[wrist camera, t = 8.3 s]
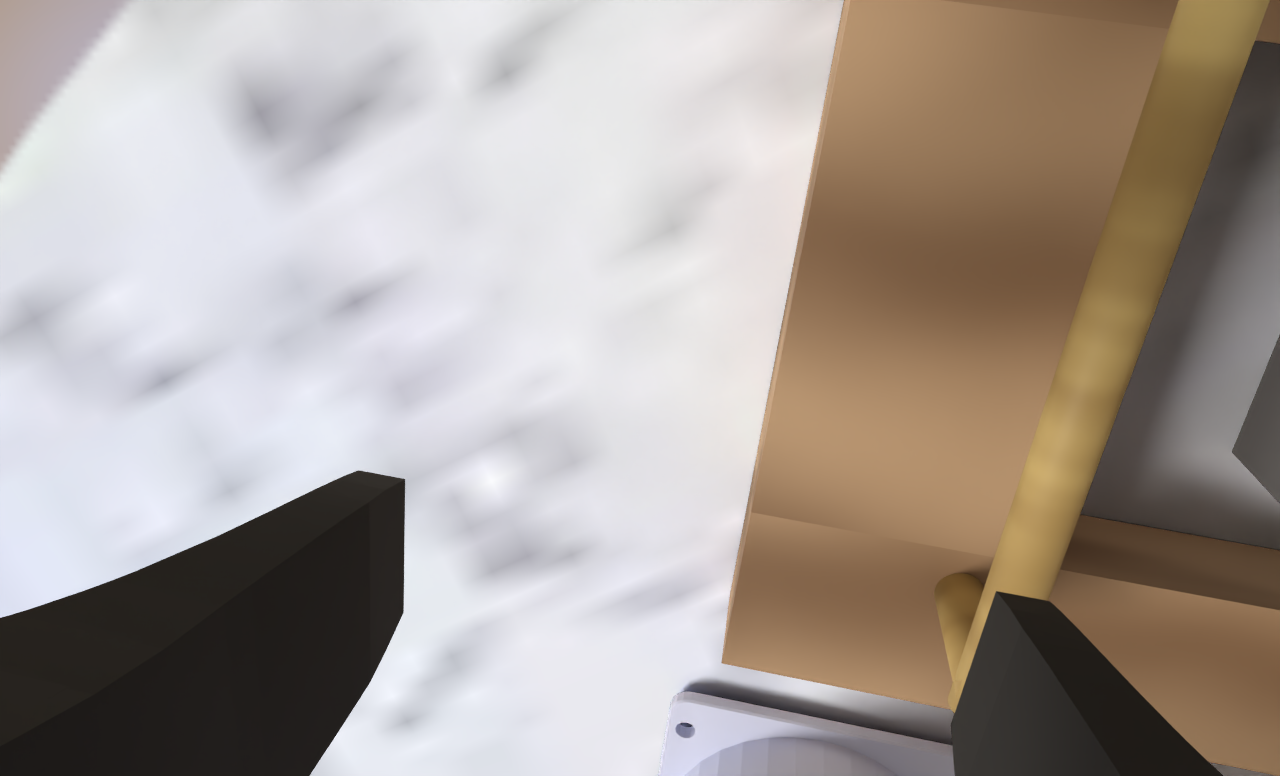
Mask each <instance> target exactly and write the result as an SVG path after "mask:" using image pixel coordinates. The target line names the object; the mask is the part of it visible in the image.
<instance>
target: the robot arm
mask: <svg viewBox="0 0 1280 776" xmlns="http://www.w3.org/2000/svg"><path fill="white" fill-rule="evenodd" d="M404 518H405V479H401V478H396V477H391V476H385V475H380V474H375V473H369V472H364V471H356V472H353V473H351V474H348V475H346V476H343V477H341V478H339V479H337V480H334V481H332V482H330V483H328V484H326V485H324V486H321V487H319V488H317V489H315V490H313V491H311V492H309V493H307V494H305V495H303V496H301V497H299V498H296V499H294V500H292V501H290V502H288V503H286V504H284V505H282V506H280V507H278V508H276V509H274V510H272V511H270V512H268V513H265V514H263V515H261V516H259V517H257V518H255V519H253V520H251V521H249V522H247V523H244V524H242V525H240V526H238V527H236V528H234V529H232V530H230V531H228V532H226V533H223V534H221V535H219V536H217V537H215V538H212V539H210V540H208V541H205V542H203V543H201V544H198V545H196V546H194V547H191V548H189V549H187V550H184V551H182V552H180V553H177V554H175V555H173V556H170V557H168V558H166V559H163V560H161V561H159V562H156V563H154V564H152V565H149V566H147V567H145V568H142V569H140V570H138V571H135V572H133V573H130V574H128V575H125V576H123V577H120V578H118V579H115V580H112V581H110V582H107V583H104V584H102V585H99V586H96V587H93V588H91V589H88V590H85V591H82V592H79V593H76V594H73V595H71V596H68V597H65V598H62V599H59V600H56V601H53V602H50V603H47V604H44V605H41V606H38V607H35V608H32V609H29V610H26V611H23V612H19V613H16V614H13V615H9V616H6V617H2V618H0V776H309V775H310V774H311V772H312V771H313V769H314V768H315V766H316V765H317V763H318V762H319V760H320V759H321V757H322V756H323V754H324V753H325V751H326V750H327V748H328V747H329V745H330V744H331V742H332V740H333V739H334V737H335V736H336V734H337V733H338V731H339V730H340V728H341V727H342V725H343V724H344V722H345V720H346V719H347V717H348V716H349V714H350V713H351V711H352V710H353V708H354V707H355V705H356V703H357V702H358V700H359V699H360V697H361V696H362V694H363V692H364V691H365V689H366V688H367V686H368V685H369V683H370V681H371V679H372V677H373V675H374V673H375V671H376V669H377V667H378V665H379V663H380V661H381V659H382V657H383V655H384V653H385V651H386V649H387V647H388V645H389V643H390V640H391V638H392V636H393V634H394V632H395V630H396V627H397V625H398V623H399V621H400V619H401V617H402V614H403V606H404ZM680 723H689V724H691V725H692V727H685V726H682V725H681V724H680ZM951 732H952V745H947V744H943V743H938V742H933V741H928V740H923V739H918V738H914V737H909V736H904V735H899V734H894V733H889V732H885V731H880V730H875V729H870V728H865V727H860V726H855V725H851V724H846V723H841V722H836V721H831V720H826V719H822V718H817V717H812V716H807V715H802V714H797V713H792V712H788V711H783V710H778V709H773V708H768V707H763V706H759V705H754V704H749V703H744V702H739V701H734V700H730V699H725V698H720V697H715V696H710V695H705V694H700V693H696V692H686V691H684V692H681V693H678V694H677V695H675V696H674V697H673V699H672V701H671V704H670V710H669V716H668V721H667V727H666V733H665V739H664V745H663V751H662V757H661V763H660V769H659V775H658V776H1223V775H1222V774H1221V773H1220V772H1219V771H1218V770H1216V769H1215V768H1214V767H1213V766H1212V765H1211V764H1210V763H1209V762H1208V761H1207V760H1206V759H1205V758H1204V757H1203V756H1202V755H1201V754H1200V753H1199V752H1198V751H1197V750H1196V749H1195V748H1194V747H1193V746H1192V745H1191V744H1190V743H1188V742H1187V741H1186V740H1185V739H1184V738H1183V737H1182V736H1181V735H1180V734H1179V733H1178V732H1177V731H1176V730H1175V729H1174V728H1173V727H1172V726H1171V725H1170V724H1169V723H1168V722H1167V721H1166V720H1165V719H1164V718H1163V717H1162V716H1161V714H1160V713H1159V712H1158V711H1157V710H1156V709H1155V708H1154V707H1153V706H1152V705H1151V704H1150V703H1149V702H1148V701H1147V700H1146V699H1145V698H1144V697H1143V696H1142V695H1141V694H1140V693H1139V692H1138V691H1137V690H1136V689H1135V688H1134V687H1133V686H1132V685H1131V684H1130V683H1129V681H1128V680H1127V679H1126V678H1125V677H1124V676H1123V675H1122V674H1121V673H1120V672H1119V671H1118V670H1117V669H1116V668H1115V667H1114V666H1113V665H1112V664H1111V663H1110V662H1109V660H1108V659H1107V658H1106V657H1105V656H1104V655H1103V654H1102V653H1101V652H1100V651H1099V650H1098V649H1097V648H1096V647H1095V646H1094V645H1093V644H1092V643H1091V642H1090V640H1089V639H1088V638H1087V637H1086V636H1085V635H1084V634H1083V633H1082V632H1081V631H1080V630H1079V629H1078V628H1077V627H1076V626H1075V625H1074V624H1073V623H1072V622H1071V621H1070V620H1069V619H1068V618H1067V617H1066V616H1065V615H1064V614H1063V613H1062V612H1061V611H1060V610H1059V609H1058V608H1057V607H1056V606H1055V605H1054V604H1052V603H1051V602H1050V601H1046V600H1041V599H1036V598H1030V597H1025V596H1020V595H1015V594H1009V593H1004V592H999V591H996V592H995V595H994V598H993V601H992V604H991V607H990V610H989V613H988V616H987V619H986V622H985V625H984V628H983V631H982V634H981V637H980V640H979V643H978V646H977V649H976V652H975V655H974V658H973V660H972V663H971V666H970V669H969V672H968V675H967V678H966V681H965V684H964V687H963V690H962V693H961V696H960V699H959V702H958V705H957V708H956V711H955V714H954V717H953V720H952V723H951Z"/></svg>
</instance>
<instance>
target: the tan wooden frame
mask: <svg viewBox="0 0 1280 776" xmlns="http://www.w3.org/2000/svg"><path fill="white" fill-rule="evenodd" d="M1255 41H1260V42H1268V43H1276V44H1280V0H844V3H843V8H842V13H841V18H840V24H839V29H838V34H837V39H836V45H835V50H834V55H833V60H832V65H831V71H830V76H829V81H828V86H827V92H826V97H825V102H824V107H823V112H822V118H821V123H820V128H819V133H818V138H817V144H816V149H815V154H814V159H813V165H812V170H811V175H810V180H809V185H808V191H807V196H806V201H805V206H804V211H803V217H802V222H801V227H800V232H799V238H798V243H797V248H796V253H795V258H794V264H793V269H792V274H791V279H790V285H789V290H788V295H787V300H786V305H785V311H784V316H783V321H782V326H781V331H780V337H779V342H778V347H777V352H776V358H775V363H774V368H773V373H772V378H771V384H770V389H769V394H768V399H767V404H766V410H765V415H764V420H763V425H762V431H761V436H760V441H759V446H758V451H757V457H756V462H755V467H754V472H753V477H752V483H751V488H750V493H749V498H748V504H747V509H746V514H745V519H744V524H743V530H742V535H741V540H740V545H739V551H738V556H737V561H736V566H735V571H734V577H733V582H732V587H731V592H730V598H729V606H728V614H727V623H726V631H725V639H724V648H723V656H722V663H723V664H728V665H733V666H738V667H743V668H748V669H753V670H758V671H763V672H768V673H773V674H778V675H783V676H787V677H792V678H797V679H802V680H807V681H812V682H817V683H822V684H827V685H832V686H837V687H842V688H847V689H852V690H857V691H861V692H866V693H871V694H876V695H881V696H886V697H891V698H896V699H901V700H906V701H911V702H916V703H921V704H926V705H931V706H936V707H940V708H945V709H950V710H952V711H953V713H954V714H955V711H956V708H957V705H958V702H959V699H960V696H961V693H962V690H963V687H964V684H965V681H966V678H967V675H968V672H969V669H970V666H971V663H972V660H973V658H974V655H975V652H976V649H977V646H978V643H979V640H980V637H981V634H982V631H983V628H984V625H985V622H986V619H987V616H988V613H989V610H990V607H991V604H992V601H993V598H994V595H995V592H996V591H999V592H1004V593H1009V594H1015V595H1020V596H1025V597H1030V598H1036V599H1041V600H1046V601H1050V602H1051V603H1052V604H1054V605H1055V606H1056V607H1057V608H1058V609H1059V610H1060V611H1061V612H1062V613H1063V614H1064V615H1065V616H1066V617H1067V618H1068V619H1069V620H1070V621H1071V622H1072V623H1073V624H1074V625H1075V626H1076V627H1077V628H1078V629H1079V630H1080V631H1081V632H1082V633H1083V634H1084V635H1085V636H1086V637H1087V638H1088V639H1089V640H1090V642H1091V643H1092V644H1093V645H1094V646H1095V647H1096V648H1097V649H1098V650H1099V651H1100V652H1101V653H1102V654H1103V655H1104V656H1105V657H1106V658H1107V659H1108V660H1109V662H1110V663H1111V664H1112V665H1113V666H1114V667H1115V668H1116V669H1117V670H1118V671H1119V672H1120V673H1121V674H1122V675H1123V676H1124V677H1125V678H1126V679H1127V680H1128V681H1129V683H1130V684H1131V685H1132V686H1133V687H1134V688H1135V689H1136V690H1137V691H1138V692H1139V693H1140V694H1141V695H1142V696H1143V697H1144V698H1145V699H1146V700H1147V701H1148V702H1149V703H1150V704H1151V705H1152V706H1153V707H1154V708H1155V709H1156V710H1157V711H1158V712H1159V713H1160V714H1161V716H1162V717H1163V718H1164V719H1165V720H1166V721H1167V722H1168V723H1169V724H1170V725H1171V726H1172V727H1173V728H1174V729H1175V730H1176V731H1177V732H1178V733H1179V734H1180V735H1181V736H1182V737H1183V738H1184V739H1185V740H1186V741H1187V742H1188V743H1190V744H1191V745H1192V746H1193V747H1194V748H1195V749H1196V750H1197V751H1198V752H1199V753H1200V754H1201V755H1202V756H1203V757H1204V758H1205V759H1206V760H1207V761H1208V762H1212V763H1217V764H1222V765H1227V766H1232V767H1237V768H1241V769H1246V770H1251V771H1256V772H1261V773H1266V774H1271V775H1276V776H1280V550H1274V549H1269V548H1263V547H1258V546H1252V545H1246V544H1241V543H1235V542H1230V541H1224V540H1218V539H1213V538H1207V537H1202V536H1196V535H1191V534H1185V533H1179V532H1174V531H1168V530H1163V529H1157V528H1152V527H1146V526H1140V525H1135V524H1129V523H1124V522H1118V521H1112V520H1107V519H1101V518H1096V517H1090V516H1085V515H1080V513H1081V511H1082V508H1083V505H1084V503H1085V500H1086V497H1087V494H1088V492H1089V489H1090V486H1091V484H1092V481H1093V478H1094V476H1095V473H1096V470H1097V467H1098V465H1099V462H1100V459H1101V457H1102V454H1103V451H1104V448H1105V446H1106V443H1107V440H1108V438H1109V435H1110V432H1111V429H1112V427H1113V424H1114V421H1115V419H1116V416H1117V413H1118V410H1119V408H1120V405H1121V402H1122V400H1123V397H1124V394H1125V391H1126V389H1127V386H1128V383H1129V381H1130V378H1131V375H1132V373H1133V370H1134V367H1135V364H1136V362H1137V359H1138V356H1139V354H1140V351H1141V348H1142V345H1143V343H1144V340H1145V337H1146V335H1147V332H1148V329H1149V326H1150V324H1151V321H1152V318H1153V316H1154V313H1155V310H1156V307H1157V305H1158V302H1159V299H1160V297H1161V294H1162V291H1163V289H1164V286H1165V283H1166V280H1167V278H1168V275H1169V272H1170V270H1171V267H1172V264H1173V261H1174V259H1175V256H1176V253H1177V251H1178V248H1179V245H1180V242H1181V240H1182V237H1183V234H1184V232H1185V229H1186V226H1187V223H1188V221H1189V218H1190V215H1191V213H1192V210H1193V207H1194V205H1195V202H1196V199H1197V196H1198V194H1199V191H1200V188H1201V186H1202V183H1203V180H1204V177H1205V175H1206V172H1207V169H1208V167H1209V164H1210V161H1211V158H1212V156H1213V153H1214V150H1215V148H1216V145H1217V142H1218V139H1219V137H1220V134H1221V131H1222V129H1223V126H1224V123H1225V121H1226V118H1227V115H1228V112H1229V110H1230V107H1231V104H1232V102H1233V99H1234V96H1235V93H1236V91H1237V88H1238V85H1239V83H1240V80H1241V77H1242V74H1243V72H1244V69H1245V66H1246V64H1247V61H1248V58H1249V55H1250V53H1251V50H1252V47H1253V45H1254V42H1255Z"/></svg>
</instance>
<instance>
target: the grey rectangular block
mask: <svg viewBox="0 0 1280 776" xmlns="http://www.w3.org/2000/svg"><path fill="white" fill-rule="evenodd" d="M1232 453H1233V454H1234V455H1235V456H1236V457H1237V458H1238V459H1239V460H1240V461H1241V462H1242V463H1243V465H1244V466H1245V467H1246V468H1247V469H1248V470H1249V471H1250V472H1251V473H1252V474H1253V475H1254V476H1255V477H1256V479H1257V480H1258V481H1259V482H1260V483H1261V484H1262V485H1263V486H1264V487H1265V488H1266V489H1267V490H1268V491H1269V493H1270V494H1271V495H1272V496H1273V497H1274V498H1275V499H1276V500H1277V501H1278V502H1279V503H1280V335H1279V338H1278V340H1277V343H1276V345H1275V347H1274V350H1273V352H1272V355H1271V357H1270V360H1269V362H1268V365H1267V367H1266V370H1265V372H1264V374H1263V377H1262V379H1261V382H1260V384H1259V387H1258V389H1257V392H1256V394H1255V396H1254V399H1253V401H1252V404H1251V406H1250V409H1249V411H1248V414H1247V416H1246V418H1245V421H1244V423H1243V426H1242V428H1241V431H1240V433H1239V436H1238V438H1237V440H1236V443H1235V445H1234V448H1233V450H1232Z"/></svg>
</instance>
